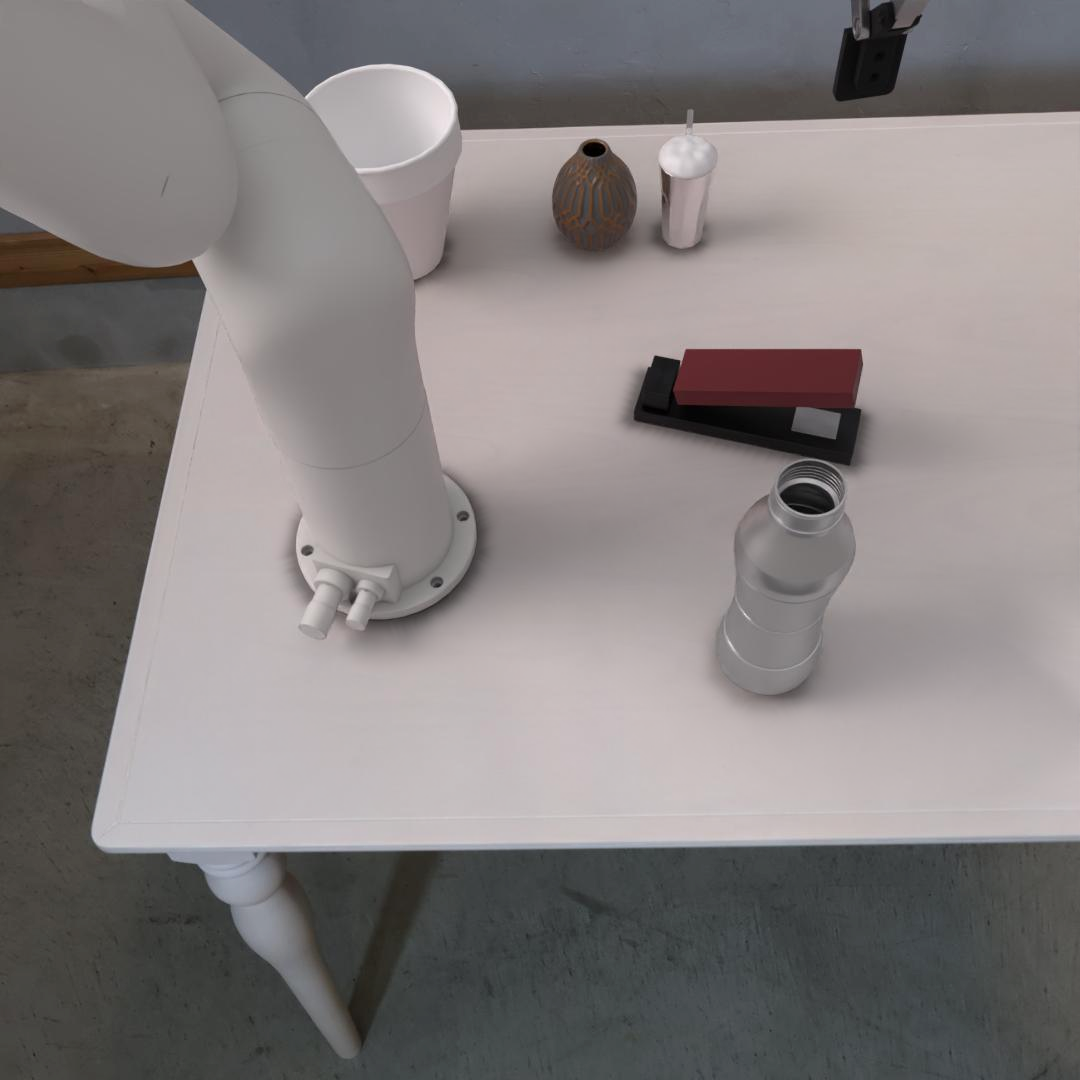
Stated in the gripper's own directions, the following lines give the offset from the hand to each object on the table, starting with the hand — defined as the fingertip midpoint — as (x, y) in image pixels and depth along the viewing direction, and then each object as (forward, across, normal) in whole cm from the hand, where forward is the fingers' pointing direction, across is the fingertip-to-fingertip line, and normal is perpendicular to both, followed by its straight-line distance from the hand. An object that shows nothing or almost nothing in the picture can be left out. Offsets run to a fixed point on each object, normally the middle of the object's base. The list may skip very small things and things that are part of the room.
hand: (835, 38), depth 62 cm
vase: (+28, -17, -11) cm, 34 cm away
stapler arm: (+23, +5, -2) cm, 24 cm away
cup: (+28, -18, -27) cm, 43 cm away
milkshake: (+28, -16, -4) cm, 32 cm away
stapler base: (+28, +4, -3) cm, 28 cm away
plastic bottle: (+28, +24, -7) cm, 37 cm away
